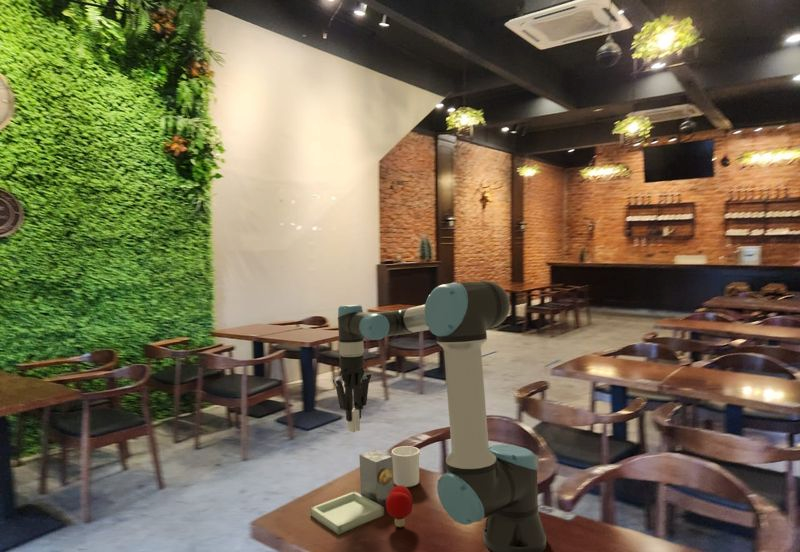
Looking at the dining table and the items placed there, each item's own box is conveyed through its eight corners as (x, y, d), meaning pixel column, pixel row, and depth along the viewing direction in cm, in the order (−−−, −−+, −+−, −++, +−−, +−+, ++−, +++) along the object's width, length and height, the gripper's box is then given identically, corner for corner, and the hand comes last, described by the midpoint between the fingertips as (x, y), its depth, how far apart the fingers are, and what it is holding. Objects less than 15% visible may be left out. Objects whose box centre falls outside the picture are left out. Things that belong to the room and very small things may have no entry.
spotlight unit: (396, 501, 151) (395, 457, 150) (378, 508, 146) (376, 463, 146) (376, 490, 158) (374, 448, 158) (357, 497, 154) (356, 454, 153)
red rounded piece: (409, 537, 130) (408, 498, 130) (382, 535, 132) (381, 496, 132) (415, 519, 139) (414, 482, 139) (390, 517, 141) (389, 481, 141)
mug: (417, 490, 157) (416, 456, 157) (389, 488, 159) (388, 455, 159) (424, 475, 168) (423, 444, 168) (397, 474, 170) (396, 443, 170)
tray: (384, 515, 142) (383, 507, 142) (338, 534, 133) (338, 526, 133) (354, 498, 153) (354, 491, 153) (310, 515, 143) (310, 507, 143)
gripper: (362, 350, 166) (365, 422, 166) (325, 356, 157) (328, 432, 157) (377, 352, 160) (379, 427, 161) (339, 359, 151) (342, 438, 152)
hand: (354, 430), depth 159 cm, fingers closed
